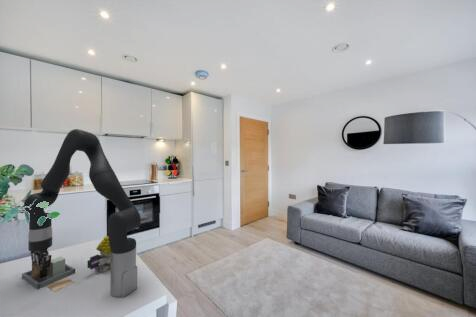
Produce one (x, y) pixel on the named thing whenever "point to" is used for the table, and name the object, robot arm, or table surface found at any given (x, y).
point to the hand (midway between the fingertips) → (40, 275)
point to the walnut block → (38, 271)
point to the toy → (101, 257)
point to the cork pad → (60, 284)
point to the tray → (47, 277)
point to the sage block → (57, 266)
